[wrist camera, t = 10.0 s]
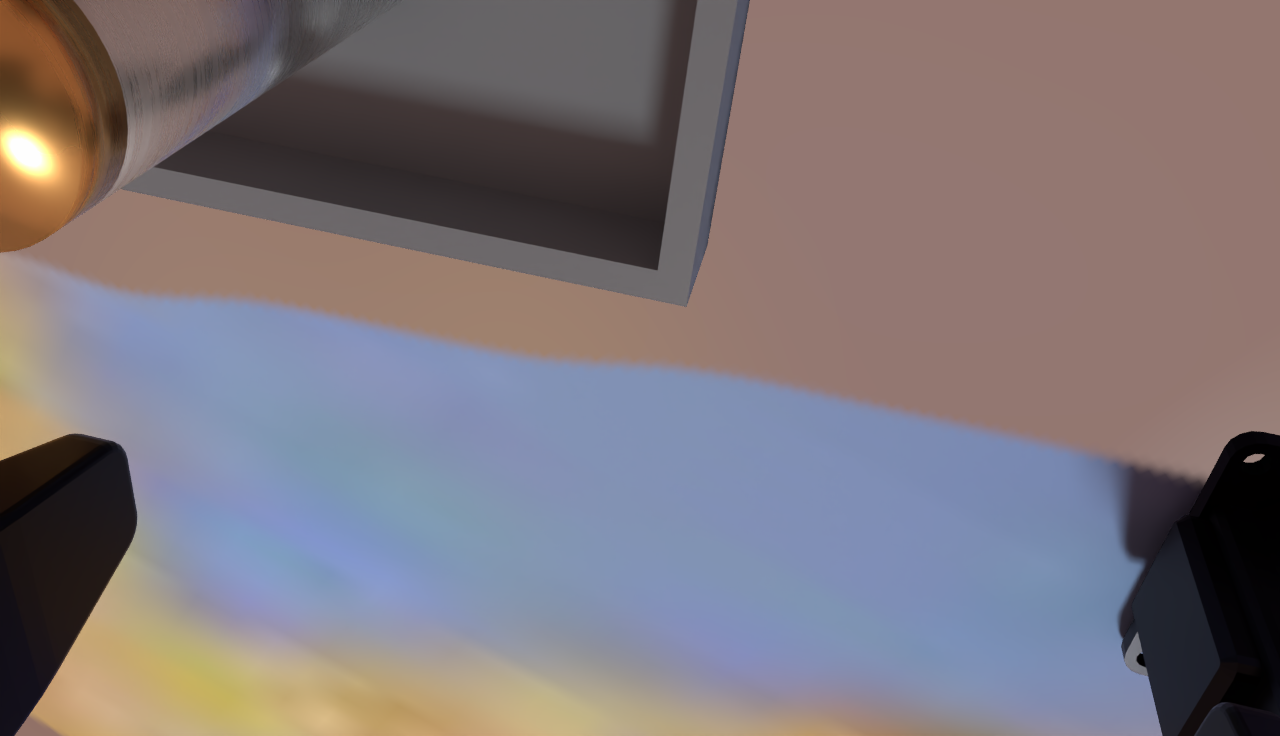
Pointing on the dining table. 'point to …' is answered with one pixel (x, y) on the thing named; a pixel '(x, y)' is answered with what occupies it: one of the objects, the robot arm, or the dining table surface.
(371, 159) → the tray
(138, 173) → the pin
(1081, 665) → the dining table surface
